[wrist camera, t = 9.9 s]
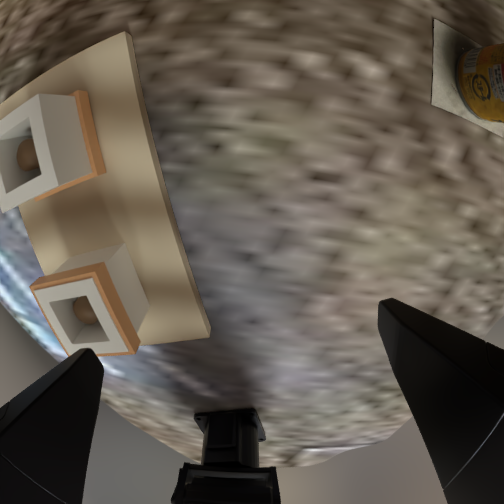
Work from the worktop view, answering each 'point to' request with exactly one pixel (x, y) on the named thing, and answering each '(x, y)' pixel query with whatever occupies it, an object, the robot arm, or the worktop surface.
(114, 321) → the seated sleeve
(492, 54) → the condiment
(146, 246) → the pin board
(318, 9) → the worktop surface
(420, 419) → the robot arm
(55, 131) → the sleeve
